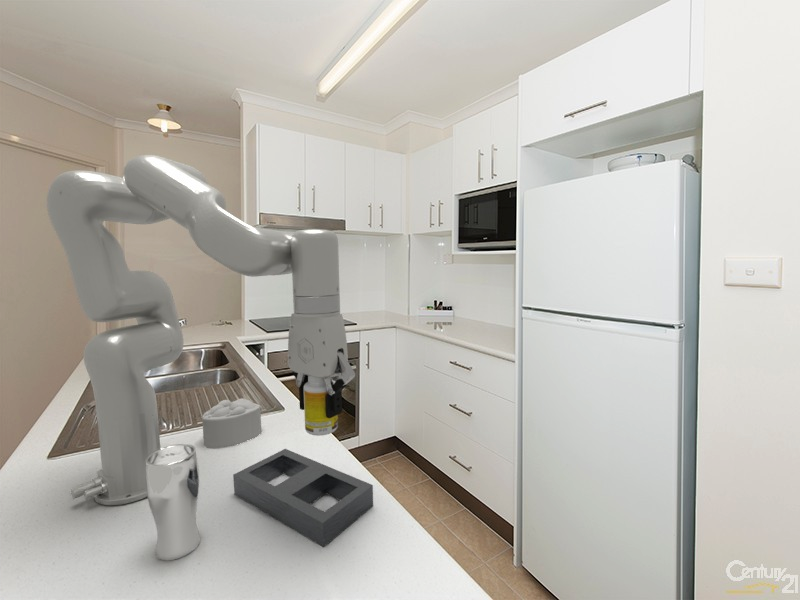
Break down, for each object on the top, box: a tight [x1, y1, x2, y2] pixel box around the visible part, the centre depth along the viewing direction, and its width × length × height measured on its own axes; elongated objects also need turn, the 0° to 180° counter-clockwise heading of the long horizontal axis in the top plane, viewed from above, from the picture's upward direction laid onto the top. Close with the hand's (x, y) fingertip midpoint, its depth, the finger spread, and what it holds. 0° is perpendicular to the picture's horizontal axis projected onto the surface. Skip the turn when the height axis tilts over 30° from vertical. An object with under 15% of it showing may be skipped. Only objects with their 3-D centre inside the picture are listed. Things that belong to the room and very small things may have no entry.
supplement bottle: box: [303, 376, 339, 436], centre depth 66 cm, size 6×6×10 cm
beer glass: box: [146, 443, 201, 562], centre depth 59 cm, size 7×7×15 cm
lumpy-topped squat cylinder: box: [201, 397, 262, 449], centre depth 97 cm, size 10×13×9 cm
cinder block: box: [233, 448, 374, 548], centre depth 71 cm, size 12×24×4 cm, turn 55°
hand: (320, 410), depth 66 cm, fingers closed on supplement bottle, 5 cm apart
